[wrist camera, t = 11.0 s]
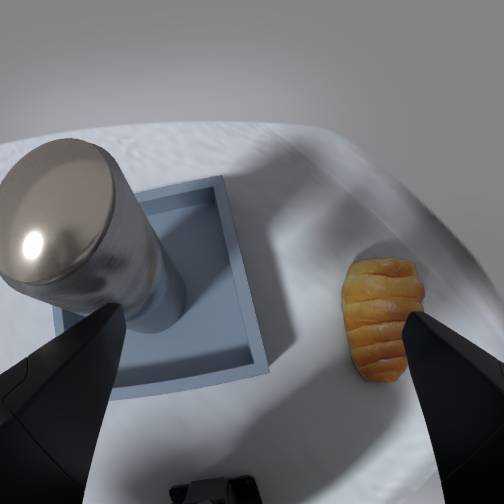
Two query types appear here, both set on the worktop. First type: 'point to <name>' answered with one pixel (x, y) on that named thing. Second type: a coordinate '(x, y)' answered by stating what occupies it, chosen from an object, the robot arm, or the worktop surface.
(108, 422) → the worktop surface
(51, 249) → the canister
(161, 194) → the bin
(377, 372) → the pastry
